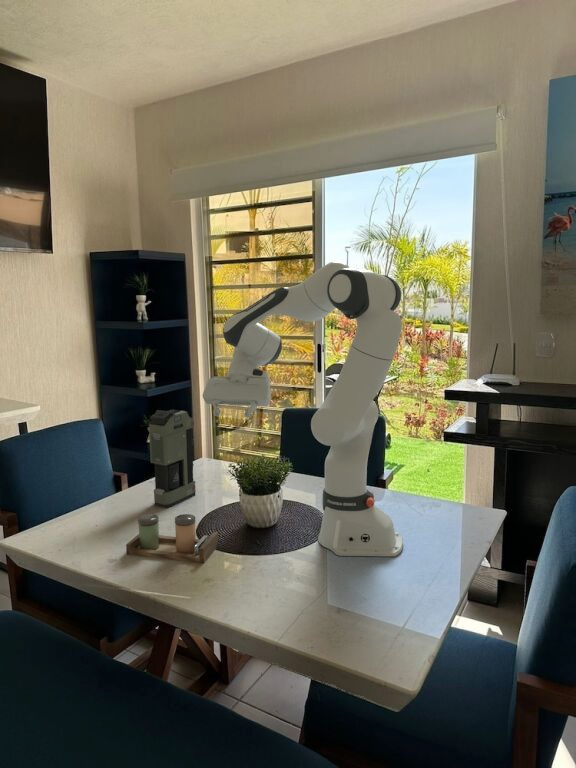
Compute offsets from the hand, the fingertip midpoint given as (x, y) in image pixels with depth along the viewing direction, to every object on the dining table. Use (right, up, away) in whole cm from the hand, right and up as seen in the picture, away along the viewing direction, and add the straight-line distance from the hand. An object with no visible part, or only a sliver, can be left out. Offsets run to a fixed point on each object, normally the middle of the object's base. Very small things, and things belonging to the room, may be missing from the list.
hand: (231, 415), depth 157 cm
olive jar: (-20, -34, -14) cm, 42 cm away
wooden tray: (-13, -34, -16) cm, 40 cm away
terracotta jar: (-10, -34, -17) cm, 39 cm away
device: (-21, -29, +20) cm, 41 cm away
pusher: (-5, -34, -18) cm, 39 cm away
